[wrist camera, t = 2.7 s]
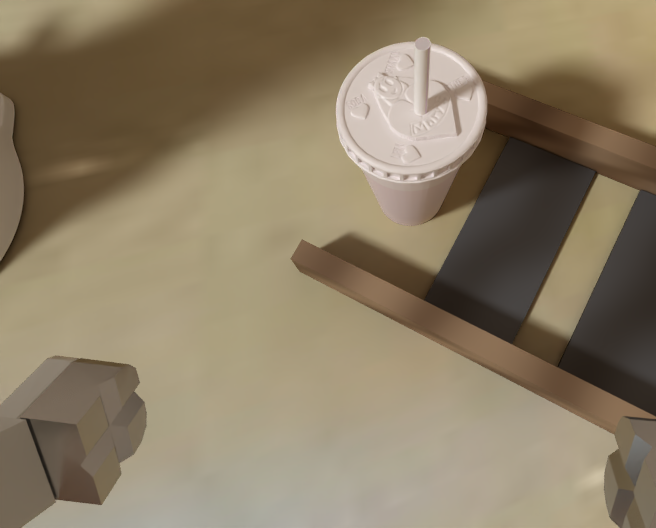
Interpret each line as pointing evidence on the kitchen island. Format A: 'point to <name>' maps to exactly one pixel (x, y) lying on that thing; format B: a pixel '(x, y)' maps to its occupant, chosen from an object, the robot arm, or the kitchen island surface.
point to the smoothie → (411, 124)
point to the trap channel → (537, 265)
